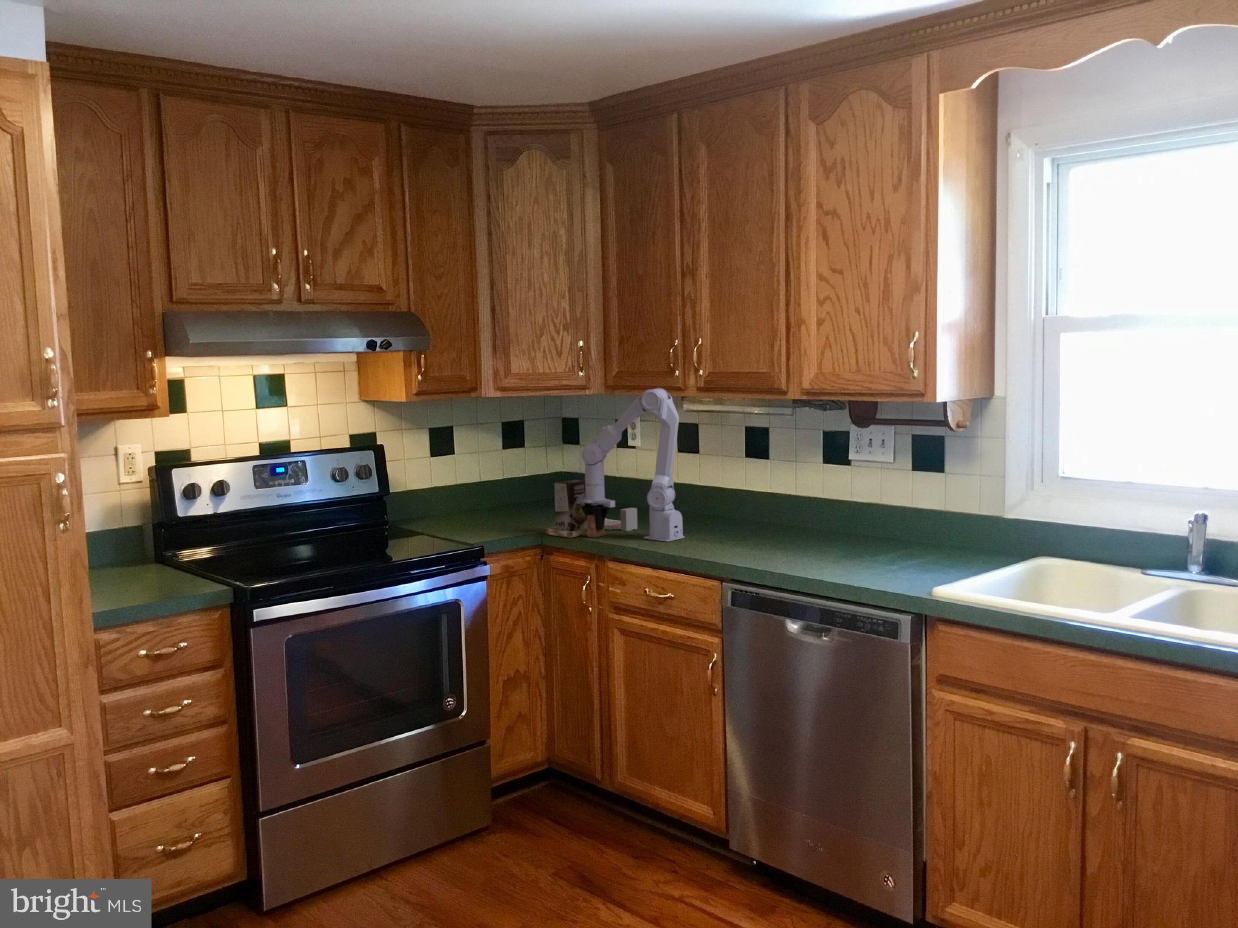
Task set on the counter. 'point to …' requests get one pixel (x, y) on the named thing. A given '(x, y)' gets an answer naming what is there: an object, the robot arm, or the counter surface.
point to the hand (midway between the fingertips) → (596, 529)
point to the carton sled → (589, 531)
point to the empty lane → (623, 520)
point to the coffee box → (569, 505)
